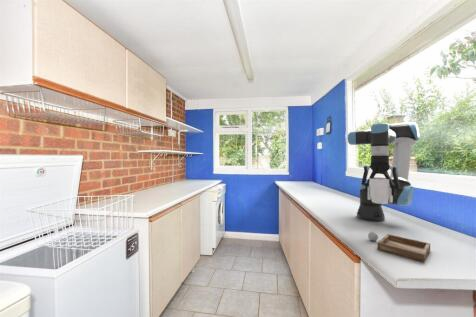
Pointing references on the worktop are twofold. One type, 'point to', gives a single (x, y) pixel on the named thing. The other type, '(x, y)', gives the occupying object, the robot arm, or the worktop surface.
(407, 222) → the worktop surface
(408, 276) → the worktop surface
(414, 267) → the worktop surface
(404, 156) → the robot arm
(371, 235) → the ball
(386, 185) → the cup
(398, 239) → the tray
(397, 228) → the worktop surface
